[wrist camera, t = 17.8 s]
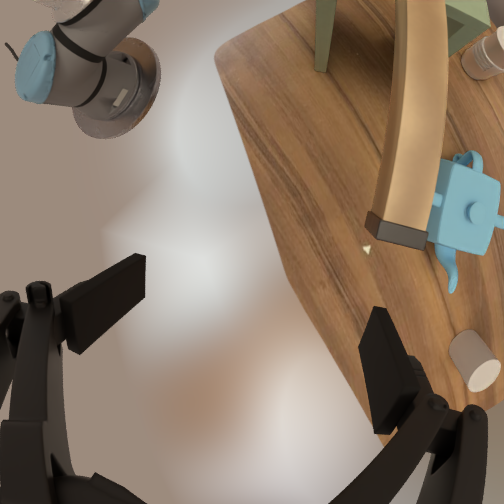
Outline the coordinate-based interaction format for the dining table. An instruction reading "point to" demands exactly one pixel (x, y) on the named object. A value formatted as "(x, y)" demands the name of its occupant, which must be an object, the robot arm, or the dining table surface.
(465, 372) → the white cylinder
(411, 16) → the slide bar
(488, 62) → the candle
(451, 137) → the dining table surface
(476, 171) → the teapot
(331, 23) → the shelf stand
